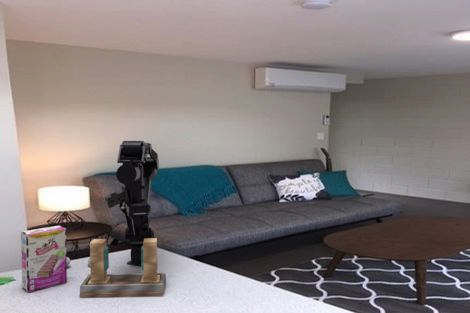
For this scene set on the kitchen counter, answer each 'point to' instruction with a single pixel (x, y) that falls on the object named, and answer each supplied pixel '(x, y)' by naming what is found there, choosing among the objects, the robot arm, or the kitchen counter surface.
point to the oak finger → (149, 261)
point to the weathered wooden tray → (115, 278)
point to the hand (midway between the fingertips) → (133, 233)
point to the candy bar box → (43, 258)
